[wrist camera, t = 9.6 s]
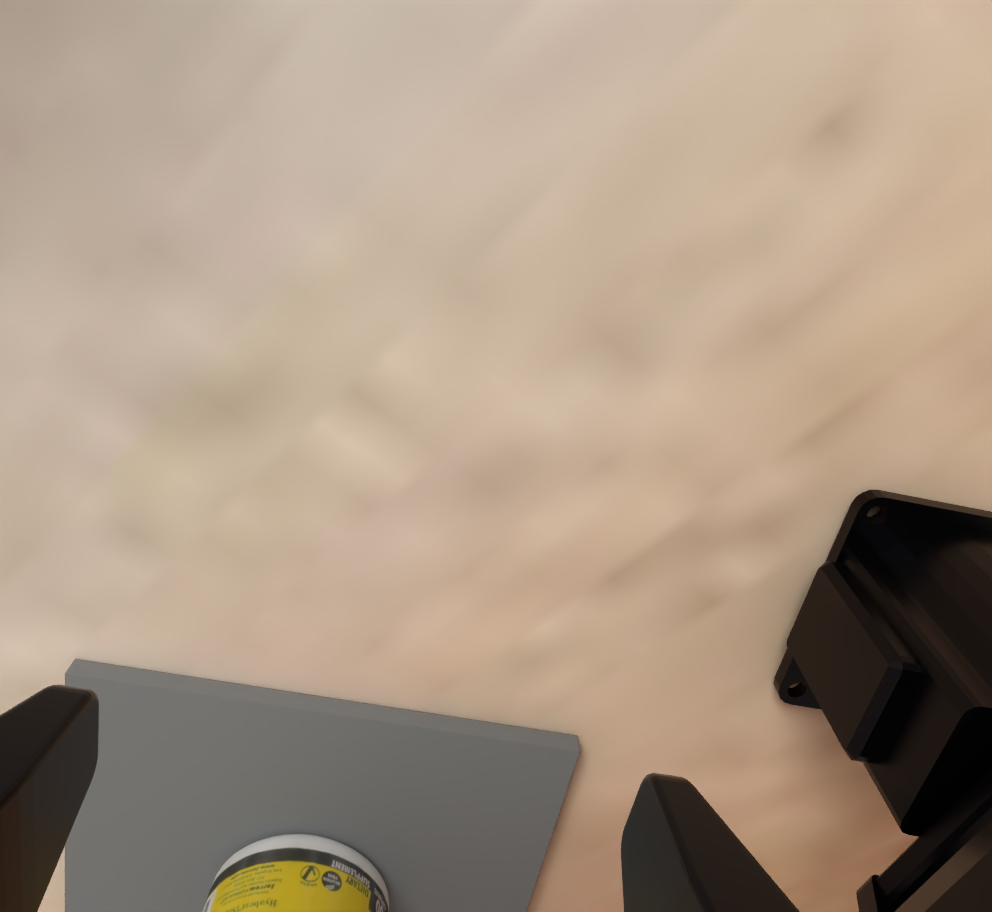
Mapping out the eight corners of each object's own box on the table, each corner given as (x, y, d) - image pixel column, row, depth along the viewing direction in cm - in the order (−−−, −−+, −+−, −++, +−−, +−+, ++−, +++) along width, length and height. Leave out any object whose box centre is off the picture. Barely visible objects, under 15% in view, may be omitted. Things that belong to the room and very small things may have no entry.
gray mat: (577, 735, 24) (579, 751, 23) (479, 1033, 29) (479, 1051, 29) (74, 658, 22) (65, 673, 22) (73, 987, 28) (65, 1005, 27)
